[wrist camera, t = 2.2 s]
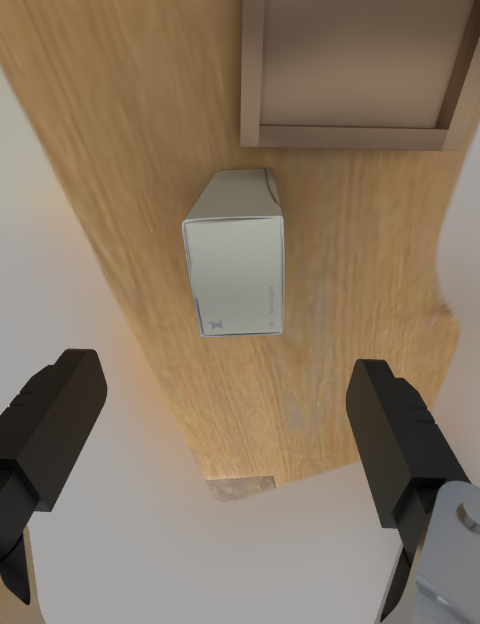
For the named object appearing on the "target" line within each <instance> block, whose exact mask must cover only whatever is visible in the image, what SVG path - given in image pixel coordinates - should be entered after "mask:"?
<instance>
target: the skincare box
mask: <svg viewBox="0 0 480 624" xmlns="http://www.w3.org/2000/svg"><path fill="white" fill-rule="evenodd" d="M182 232H183V239H184V246H185V252H186V259H187V265H188V272H189V278H190V284H191V289H192V294H193V299H194V305H195V310H196V315H197V320H198V325H199V329H200V335H201V337H229V336H230V337H234V336H261V335H279V334H282V331H283V320H284V221H283V215H282V210H281V206H280V201H279V197H278V192H277V187H276V183H275V178H274V174H273V170H272V169H271V168H267V169H244V170H228V171H218V172H216V173H215V175H214V176H213V178H212V179H211V181H210V182H209V184H208V185H207V187H206V188H205V189H204V191H203V192H202V194H201V195H200V197H199V198H198V200H197V201H196V203H195V204H194V206H193V207H192V209H191V210H190V212H189V213H188V215H187V216H186V218H185V219H184V221H183V222H182Z"/></svg>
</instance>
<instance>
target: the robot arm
mask: <svg viewBox="0 0 480 624" xmlns="http://www.w3.org/2000/svg"><path fill="white" fill-rule="evenodd" d="M106 397H107V384H106V380H105V377H104V374H103V370H102V367H101V364H100V361H99V358H98V354H97V352H96V351H95V350H93V349H67V350H65V351H64V352H63V353H62V355H61V356H60V357H59V359H58V360H57V361H56V363H55V364H54V365H48V366H46V367H45V368H43V369H42V370H41V371H39V372H38V373H37V374H35V375H34V376H32V377H31V378H30V380H29V381H28V382H27V383H26V385H25V386H24V387H23V388H22V389H21V391H20V394H19V395H17V396H16V397H15V398H14V399H13V401H12V402H11V403H10V407H7V408H6V409H5V411H4V412H3V413H2V414H1V415H0V624H46V623H45V621H44V618H43V616H42V614H41V610H40V607H39V602H38V594H37V587H36V580H35V572H34V565H33V557H32V550H31V542H30V535H29V529H28V526H27V523H28V521H29V519H30V517H31V515H32V514H33V512H34V511H41V512H51V511H52V509H53V507H54V504H55V503H56V501H57V499H58V497H59V495H60V493H61V491H62V489H63V487H64V485H65V483H66V481H67V479H68V477H69V474H70V472H71V471H72V469H73V467H74V464H75V463H76V461H77V458H78V456H79V454H80V452H81V450H82V448H83V446H84V444H85V442H86V440H87V438H88V436H89V434H90V432H91V430H92V428H93V426H94V424H95V422H96V420H97V418H98V416H99V414H100V412H101V410H102V408H103V406H104V404H105V401H106ZM346 411H347V415H348V418H349V421H350V425H351V428H352V431H353V434H354V438H355V441H356V444H357V448H358V451H359V454H360V457H361V461H362V464H363V467H364V470H365V474H366V477H367V480H368V483H369V487H370V490H371V493H372V496H373V500H374V503H375V506H376V510H377V513H378V516H379V519H380V523H381V526H382V528H394V529H398V531H399V534H400V537H401V540H402V543H401V545H400V547H399V550H398V553H397V557H396V560H395V563H394V566H393V569H392V572H391V575H390V578H389V581H388V584H387V587H386V590H385V593H384V596H383V599H382V602H381V605H380V608H379V611H378V614H377V617H376V620H375V623H374V624H480V488H479V487H477V486H475V485H473V484H472V483H471V482H470V480H469V479H468V477H467V476H466V474H465V472H464V471H463V469H462V467H461V465H460V464H459V462H458V460H457V458H456V457H455V455H454V453H453V451H452V450H451V448H450V446H449V444H448V443H447V441H446V439H445V437H444V436H443V434H442V432H441V431H440V429H439V427H438V425H437V424H435V420H434V418H433V417H432V415H431V413H430V411H428V410H427V406H426V404H425V403H424V401H423V399H422V398H421V396H420V394H419V392H418V391H417V390H416V389H415V388H414V387H413V386H411V385H410V384H409V383H408V382H407V381H406V380H405V379H404V378H395V377H394V375H393V373H392V371H391V369H390V367H389V365H388V364H387V362H386V361H385V360H374V359H358V360H357V361H356V363H355V366H354V369H353V373H352V376H351V379H350V383H349V386H348V390H347V393H346Z"/></svg>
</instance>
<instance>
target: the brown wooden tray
mask: <svg viewBox="0 0 480 624" xmlns="http://www.w3.org/2000/svg"><path fill="white" fill-rule="evenodd" d="M479 98H480V0H242V61H241V128H240V146H243V147H288V148H333V149H377V150H422V151H460V150H461V147H462V144H463V141H464V139H465V136H466V133H467V131H468V128H469V125H470V122H471V120H472V117H473V114H474V111H475V109H476V106H477V103H478V100H479Z"/></svg>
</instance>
